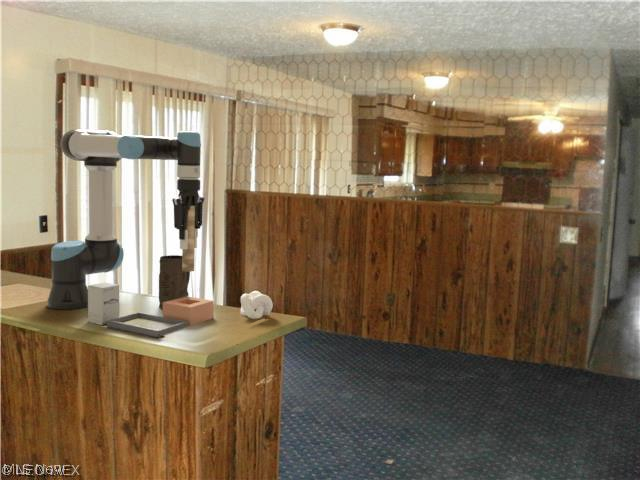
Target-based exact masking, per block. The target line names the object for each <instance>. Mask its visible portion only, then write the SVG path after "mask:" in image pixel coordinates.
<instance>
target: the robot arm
mask: <svg viewBox="0 0 640 480" xmlns="http://www.w3.org/2000/svg"><path fill="white" fill-rule="evenodd" d="M176 136H177V137H172V136H171V137H169V136H167V137H166V136H151V135H150V136H148V135H147V136H146V135H136V134H135V135H134V134H127V135H126V134H125V135H124V134H122V135H120V134H117V133H116V132H114V131H112V130H111V131H110V130H106V129H105V130H104V129H86V128H85V129H83V128H74V129H71V130H69V131H66V132H65V133H64V134H63V136H61V139H60V148H61V151H62V153H63V155H64V156H66V157H67V158H68V159H70V160H73V161H78V162H83V164H84V167H85V168H86V169H87V170H88V227H89V228H88V234H87V235H86V236H85V238H84V241H83V240H68V241H67V240H66V241H62V242H58V243H56V244H54V245H53V246H52V247H51V250H50V251H51V252H50V253H51V254H50V261H51V287H50V291H49V295H48V297H47V301H46V303H47V308H49V309H52V310H76V309H82V308H83V309H84V308H88V285H87V281H86V279H87V276H88V275H93V274H101V273H108V272H112V271H115V270H117V269H118V268H119V267H120V266H121V265H122V263H123V260H124V255H125V254H124V248H123V245H122V244H121V243H120V242H119V241H118V238H117V236H116V235H115V234H114V227H113V224H114V223H113V221H114V219H113V217H114V216H113V214H114V212H113V211H114V209H113V207H114V206H113V202H114V200H113V199H114V197H113V195H114V193H113V185H114V182H113V179H114V177H113V171H114V170H115V169H116V168H117V166H118V165H117V163H118V162H119V161H121V160H122V159H128V160H160V161H163V160H164V161H177V163H176V164H177V166H176V167H177V168H176V176H177V178H178V179H177V181H176V184H177V186H176V187H177V188H176V189H177V191H179V192H178V197H176V198H172V200H171V201H172V204H173V227H174V228H175V229H176V230H178V231H179V232H178V238H179V250H182V249H185V250H187V249H188V230H186V225H187V217H188V210H189V209H190V206H195V244H194V249H196V248H198V243H197V242H198V229H201V227H202V226H203V213H204V211H203V210H204V209H203V208H204V202H205V197H204V196H203V197H201V196H200V195H199V191H200V190H201V180H200V178H201V153H202V152H201V150H202V149H201V148H202V147H201V146H202V144H201V141H202V139H201V134H200V133H199V132H197V131H184V130H183V131H182V130H181V131H178V132H177V135H176ZM183 206H186V207H183ZM182 225H183V226H182ZM86 275H87V276H86Z"/></svg>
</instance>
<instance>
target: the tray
mask: <svg viewBox="0 0 640 480" xmlns="http://www.w3.org/2000/svg"><path fill="white" fill-rule="evenodd" d="M137 318H142V319H146V320H152V321H156V322H161V323H166V324H170V326H166V327H163V328H159V329H154V328H149V327H145V326H140V325H136V324H131V323H126V322H125V321H130V320H133V319H137ZM171 324H172V325H171ZM186 327H189V325H188V321H183V320H178V319H173V318H167V317H163V315H157V314H151V313H146V312H141V311H137V312H134V313H130V314H126V315H123V316H119V317H118V318H114V319H110V320H107V321H106V328H107V329H111V330H116V331H119V330H120V332H125V333H130V334H133V335H138V336H143V337H146V338H147V337H148V338H152V339H157V340H159V339H163V338H165V337H166V335H165V334H169V333H170V332H171V333H172V332H175V331H177V330H181V329H183V328H186Z"/></svg>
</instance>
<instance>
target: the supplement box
mask: <svg viewBox="0 0 640 480" xmlns="http://www.w3.org/2000/svg"><path fill="white" fill-rule="evenodd" d="M87 289H88V306H87V312H88V313H87V319H88V320H87V322H89V323H93V324H96V325H100V326H103V325H107V320H110V319H114V318H118V317H120V284H116V283H110V282H100V283H96V284H89V285H87ZM105 322H106V323H105Z"/></svg>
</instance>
